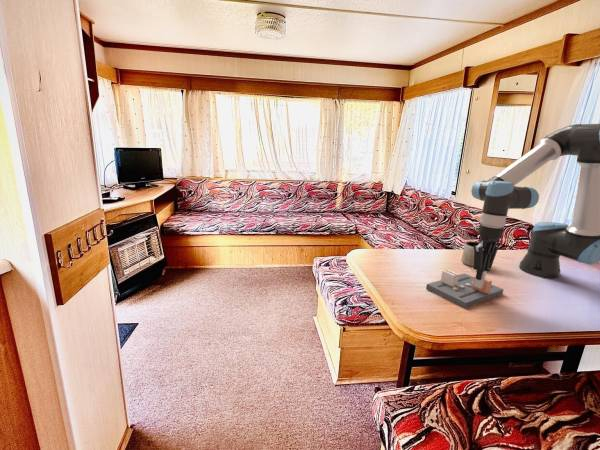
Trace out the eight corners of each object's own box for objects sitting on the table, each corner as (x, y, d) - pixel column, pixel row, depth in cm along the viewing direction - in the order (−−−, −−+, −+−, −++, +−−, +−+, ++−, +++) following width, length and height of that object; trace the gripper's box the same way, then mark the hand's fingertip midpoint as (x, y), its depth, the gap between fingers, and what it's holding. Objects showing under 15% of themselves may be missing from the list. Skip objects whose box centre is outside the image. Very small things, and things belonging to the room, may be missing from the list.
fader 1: (445, 280, 126) (447, 269, 125) (456, 285, 122) (459, 274, 121) (440, 281, 125) (442, 270, 124) (452, 286, 121) (454, 275, 120)
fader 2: (476, 286, 122) (479, 275, 121) (489, 291, 118) (492, 280, 117) (472, 287, 121) (474, 276, 119) (485, 293, 117) (487, 281, 115)
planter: (490, 269, 146) (494, 249, 143) (464, 266, 148) (468, 247, 145) (482, 261, 156) (486, 242, 153) (458, 258, 158) (461, 240, 155)
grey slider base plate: (463, 277, 135) (464, 272, 134) (502, 294, 122) (504, 287, 121) (426, 288, 123) (427, 282, 122) (464, 308, 110) (466, 301, 109)
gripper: (491, 221, 118) (478, 279, 124) (470, 224, 111) (458, 286, 118) (512, 226, 112) (498, 287, 118) (492, 230, 105) (477, 294, 111)
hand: (478, 286), depth 118 cm, fingers closed
